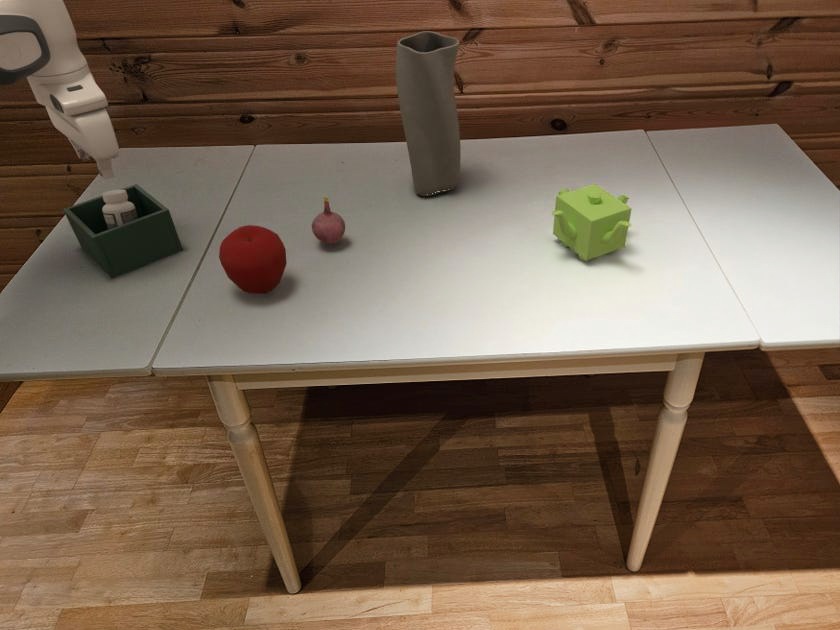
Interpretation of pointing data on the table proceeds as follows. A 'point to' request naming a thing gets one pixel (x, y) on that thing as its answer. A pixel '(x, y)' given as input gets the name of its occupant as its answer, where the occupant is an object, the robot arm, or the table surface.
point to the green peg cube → (591, 221)
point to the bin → (125, 233)
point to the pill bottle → (118, 208)
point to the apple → (253, 259)
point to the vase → (429, 109)
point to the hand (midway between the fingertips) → (97, 168)
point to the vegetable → (328, 225)
